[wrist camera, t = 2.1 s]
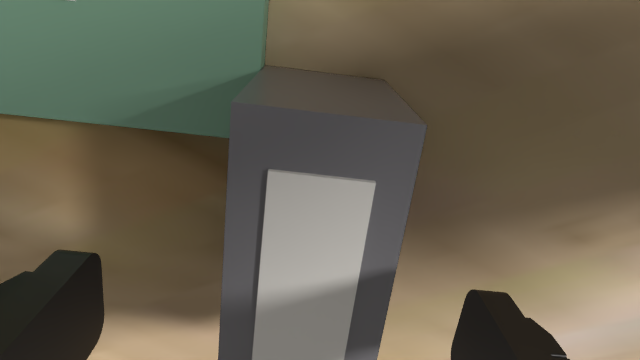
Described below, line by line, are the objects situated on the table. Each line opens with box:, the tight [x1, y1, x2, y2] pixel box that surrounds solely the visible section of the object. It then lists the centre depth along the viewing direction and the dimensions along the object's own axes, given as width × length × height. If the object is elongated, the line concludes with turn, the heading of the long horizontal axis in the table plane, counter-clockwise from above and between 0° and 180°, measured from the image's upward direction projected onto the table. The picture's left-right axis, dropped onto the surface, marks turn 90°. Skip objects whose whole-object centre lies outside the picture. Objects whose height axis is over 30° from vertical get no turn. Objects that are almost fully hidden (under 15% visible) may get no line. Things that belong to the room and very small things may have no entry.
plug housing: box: [218, 65, 427, 360], centre depth 14 cm, size 4×9×7 cm, turn 173°
